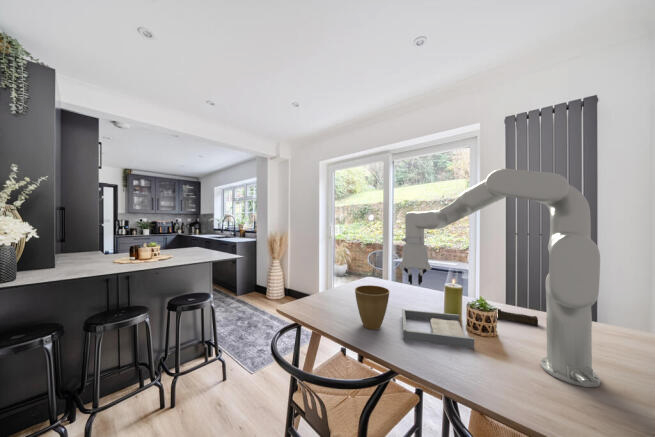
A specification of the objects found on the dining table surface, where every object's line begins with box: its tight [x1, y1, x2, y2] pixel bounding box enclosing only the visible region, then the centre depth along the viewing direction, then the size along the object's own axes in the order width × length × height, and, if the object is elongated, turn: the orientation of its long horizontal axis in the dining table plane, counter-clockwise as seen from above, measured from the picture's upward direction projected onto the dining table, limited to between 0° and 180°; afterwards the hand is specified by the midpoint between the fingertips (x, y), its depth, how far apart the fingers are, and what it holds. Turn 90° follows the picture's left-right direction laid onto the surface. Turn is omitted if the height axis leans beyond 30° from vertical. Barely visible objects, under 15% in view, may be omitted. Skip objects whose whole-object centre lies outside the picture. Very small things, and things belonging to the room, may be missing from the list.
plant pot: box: [354, 284, 390, 331], centre depth 104 cm, size 15×15×16 cm
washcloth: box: [429, 318, 466, 337], centre depth 97 cm, size 12×18×3 cm, turn 162°
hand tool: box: [497, 308, 539, 327], centre depth 108 cm, size 19×4×5 cm, turn 55°
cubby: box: [401, 309, 475, 350], centre depth 99 cm, size 22×24×4 cm
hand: (415, 283), depth 101 cm, fingers open, 2 cm apart
